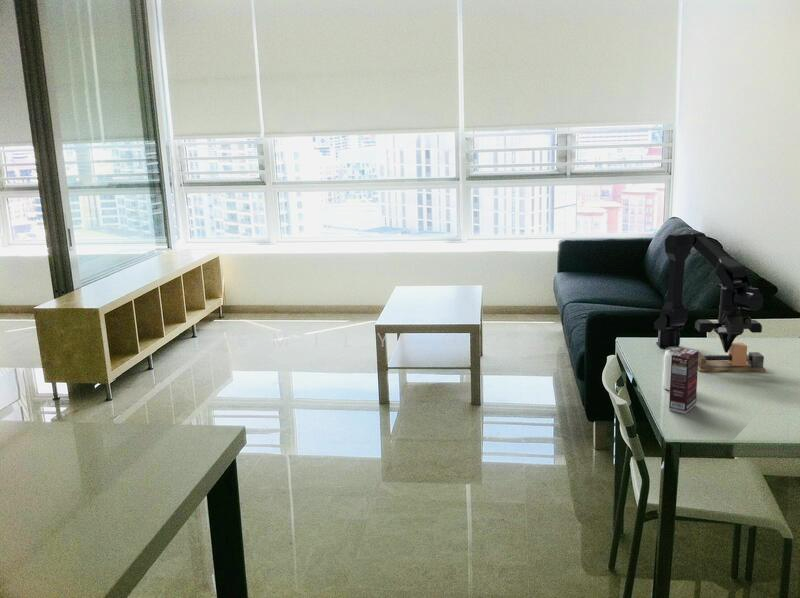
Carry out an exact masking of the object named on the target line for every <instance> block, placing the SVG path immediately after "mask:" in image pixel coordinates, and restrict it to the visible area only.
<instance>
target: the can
mask: <svg viewBox="0 0 800 598" xmlns="http://www.w3.org/2000/svg"><path fill="white" fill-rule="evenodd" d="M682 348H683V347H681V346H679V347H668V348H665V349H666V350H665V352H664V359H663V376H662V388H663V389H664V388H665V390H666V391H668V390H669V392H670V381H671V360H672V355H673V354H674V353H676V352H677V351H679V350H680V349H682Z"/></svg>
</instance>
